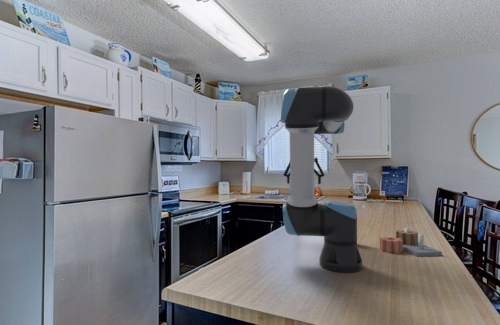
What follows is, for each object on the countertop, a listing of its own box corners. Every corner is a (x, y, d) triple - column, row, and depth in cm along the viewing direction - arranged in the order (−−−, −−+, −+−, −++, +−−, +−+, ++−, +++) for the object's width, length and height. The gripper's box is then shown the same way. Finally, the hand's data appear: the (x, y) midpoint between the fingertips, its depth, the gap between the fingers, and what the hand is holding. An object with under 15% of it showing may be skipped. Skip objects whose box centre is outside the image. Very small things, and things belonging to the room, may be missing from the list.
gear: (406, 253, 124) (406, 241, 125) (386, 253, 124) (386, 241, 124) (394, 247, 133) (394, 236, 133) (376, 247, 132) (376, 236, 133)
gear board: (442, 255, 121) (441, 235, 121) (416, 256, 120) (416, 236, 120) (411, 243, 141) (411, 226, 141) (389, 243, 140) (388, 226, 140)
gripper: (329, 148, 151) (329, 190, 150) (280, 149, 157) (280, 189, 156) (329, 147, 143) (329, 191, 143) (278, 148, 150) (278, 190, 149)
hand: (303, 190), depth 150 cm, fingers open, 13 cm apart
